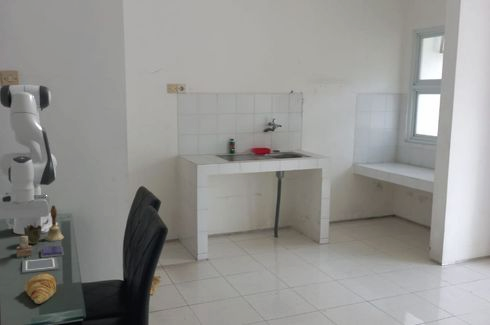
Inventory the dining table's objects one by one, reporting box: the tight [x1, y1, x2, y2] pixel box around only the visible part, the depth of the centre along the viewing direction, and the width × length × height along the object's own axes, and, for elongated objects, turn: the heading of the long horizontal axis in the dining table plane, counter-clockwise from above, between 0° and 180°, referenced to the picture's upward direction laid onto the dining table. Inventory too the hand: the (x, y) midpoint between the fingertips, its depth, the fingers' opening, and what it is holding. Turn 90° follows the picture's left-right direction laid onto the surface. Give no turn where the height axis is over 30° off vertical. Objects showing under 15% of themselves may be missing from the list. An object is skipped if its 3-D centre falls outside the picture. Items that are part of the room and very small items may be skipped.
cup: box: [24, 225, 42, 246], centre depth 212 cm, size 8×7×8 cm
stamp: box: [16, 235, 32, 258], centre depth 198 cm, size 6×6×8 cm
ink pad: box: [40, 245, 65, 258], centre depth 202 cm, size 9×9×2 cm
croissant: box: [24, 272, 57, 305], centre depth 163 cm, size 21×10×8 cm, turn 21°
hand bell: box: [44, 205, 65, 242], centre depth 220 cm, size 8×8×16 cm
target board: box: [21, 256, 59, 274], centre depth 188 cm, size 13×13×1 cm
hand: (23, 227), depth 196 cm, fingers open, 8 cm apart
